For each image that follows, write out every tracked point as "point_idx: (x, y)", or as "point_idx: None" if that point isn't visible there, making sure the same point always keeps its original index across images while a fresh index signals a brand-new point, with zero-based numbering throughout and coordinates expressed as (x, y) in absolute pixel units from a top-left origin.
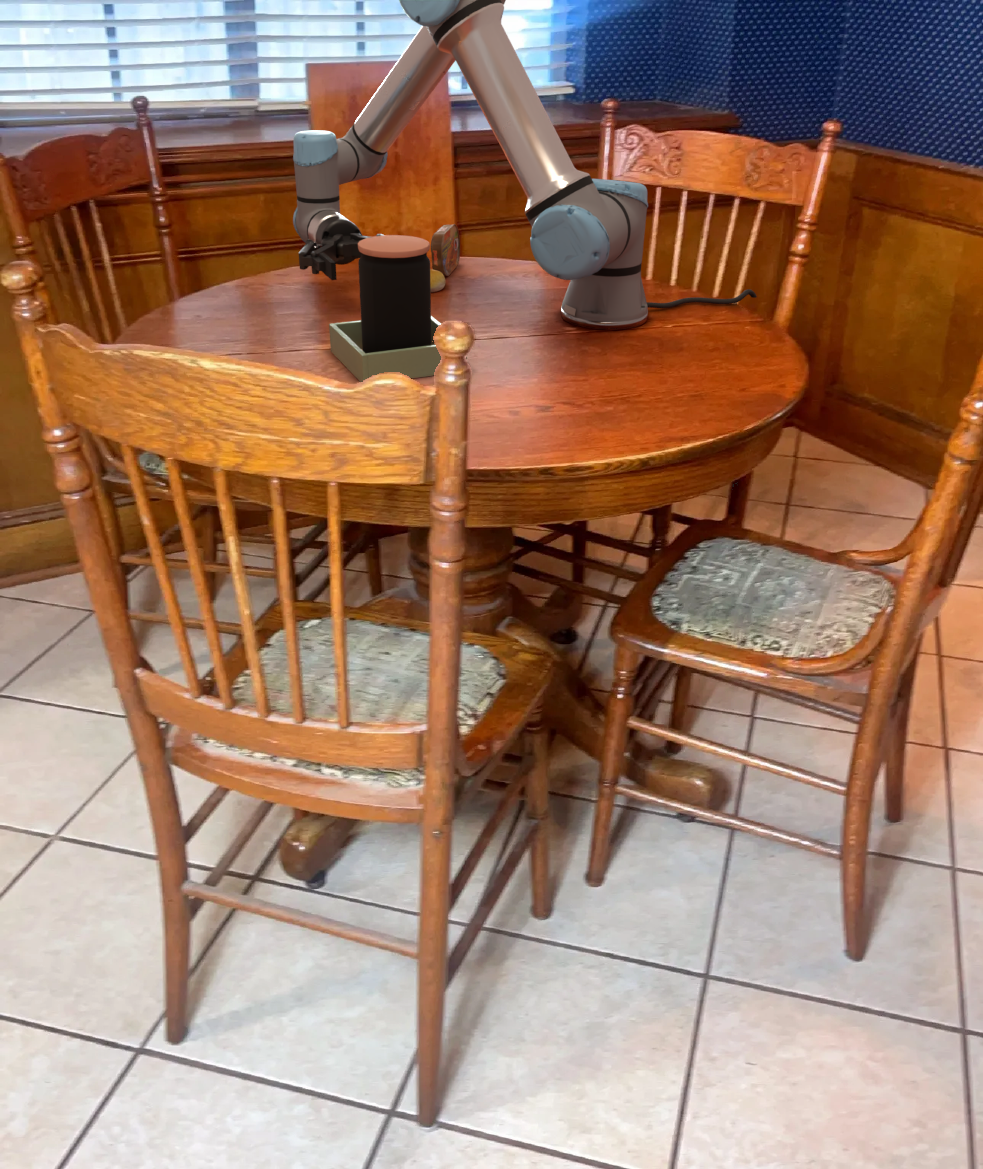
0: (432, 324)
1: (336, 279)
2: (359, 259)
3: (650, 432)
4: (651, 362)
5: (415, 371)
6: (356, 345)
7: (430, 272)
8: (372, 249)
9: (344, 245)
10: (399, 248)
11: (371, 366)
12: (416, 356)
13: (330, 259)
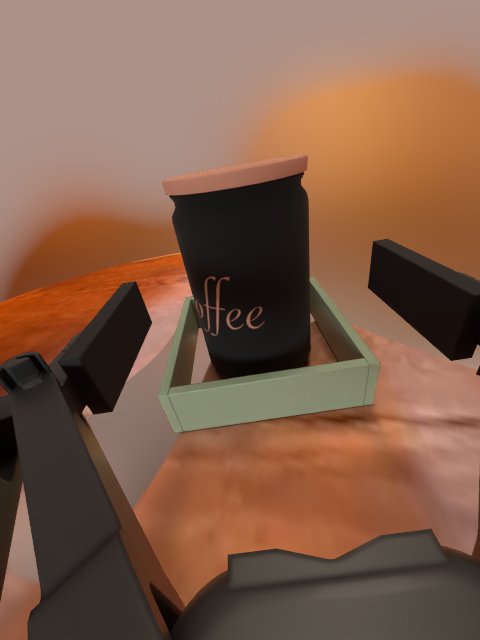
0: (178, 362)
1: (368, 286)
2: (305, 192)
3: (152, 264)
4: (25, 330)
5: None
6: (319, 293)
7: None
8: (282, 157)
9: (412, 534)
10: (236, 165)
11: None
12: None
13: (398, 250)
